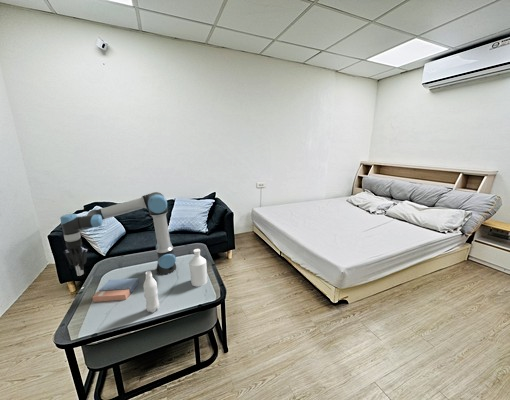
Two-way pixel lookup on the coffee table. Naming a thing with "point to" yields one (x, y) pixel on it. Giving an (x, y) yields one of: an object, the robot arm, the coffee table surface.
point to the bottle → (198, 269)
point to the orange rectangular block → (111, 295)
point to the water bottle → (151, 293)
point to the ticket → (120, 284)
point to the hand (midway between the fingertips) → (80, 274)
